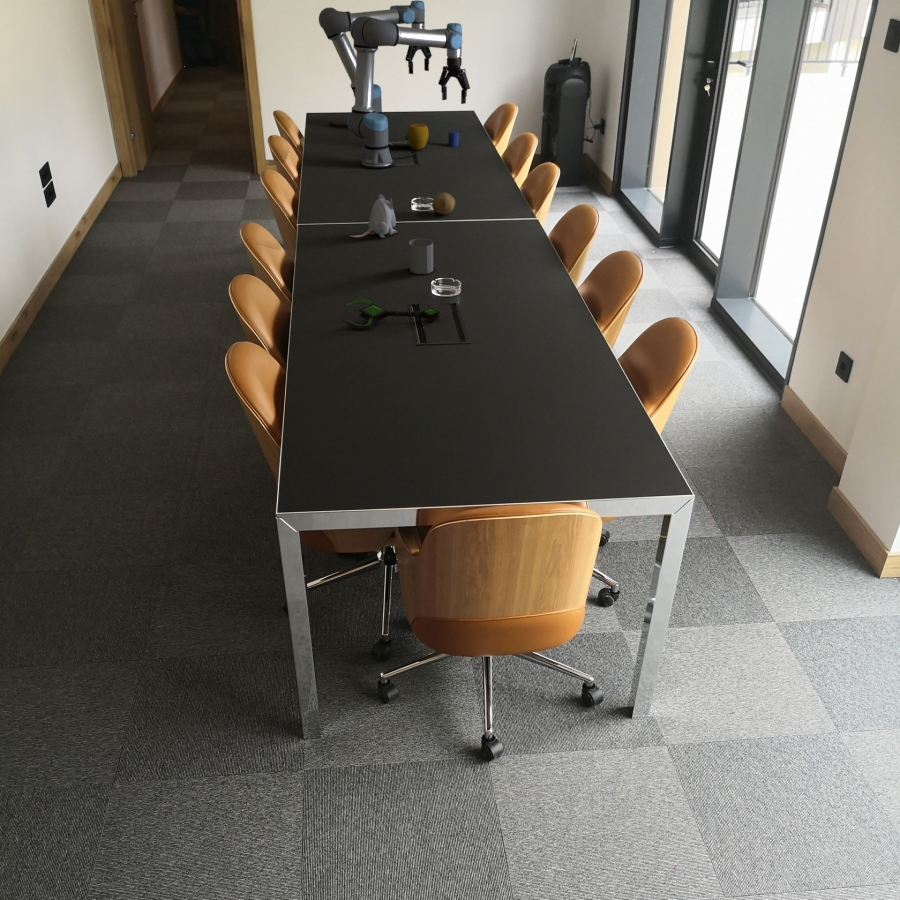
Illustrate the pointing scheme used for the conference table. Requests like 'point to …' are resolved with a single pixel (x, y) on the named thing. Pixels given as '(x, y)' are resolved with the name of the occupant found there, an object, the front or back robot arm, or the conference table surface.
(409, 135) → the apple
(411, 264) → the cup
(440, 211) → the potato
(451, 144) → the canister
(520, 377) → the conference table surface
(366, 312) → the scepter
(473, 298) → the conference table surface
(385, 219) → the toy
